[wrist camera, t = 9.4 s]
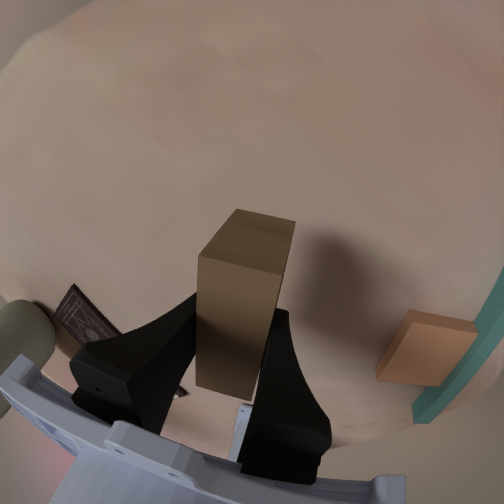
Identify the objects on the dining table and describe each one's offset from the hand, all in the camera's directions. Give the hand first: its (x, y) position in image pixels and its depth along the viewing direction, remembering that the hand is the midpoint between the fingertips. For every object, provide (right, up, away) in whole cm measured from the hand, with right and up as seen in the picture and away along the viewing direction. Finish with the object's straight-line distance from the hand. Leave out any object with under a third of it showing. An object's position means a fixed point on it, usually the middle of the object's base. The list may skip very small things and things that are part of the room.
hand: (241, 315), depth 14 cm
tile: (+16, -5, +8) cm, 18 cm away
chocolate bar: (-16, -9, +18) cm, 26 cm away
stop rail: (+20, -5, +6) cm, 22 cm away
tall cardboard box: (+1, +1, +2) cm, 3 cm away
